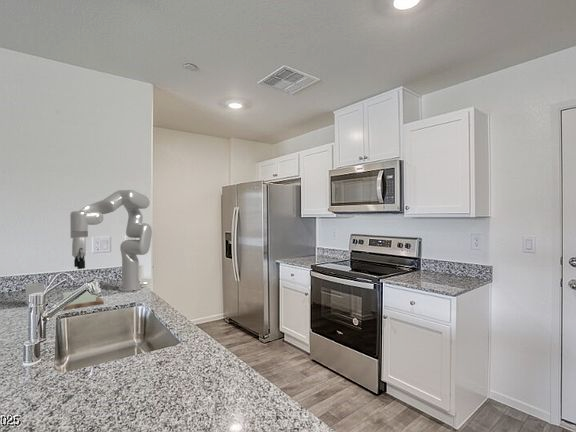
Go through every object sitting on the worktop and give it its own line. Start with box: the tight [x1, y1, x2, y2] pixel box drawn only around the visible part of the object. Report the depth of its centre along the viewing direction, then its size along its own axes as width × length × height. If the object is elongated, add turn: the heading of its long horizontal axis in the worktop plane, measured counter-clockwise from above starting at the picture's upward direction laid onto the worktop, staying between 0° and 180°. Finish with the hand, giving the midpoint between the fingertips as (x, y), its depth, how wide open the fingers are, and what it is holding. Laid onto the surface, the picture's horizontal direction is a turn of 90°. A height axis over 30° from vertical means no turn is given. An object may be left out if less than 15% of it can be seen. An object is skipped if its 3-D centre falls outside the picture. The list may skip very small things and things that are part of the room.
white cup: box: [24, 282, 45, 306], centre depth 169 cm, size 8×8×10 cm
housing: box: [61, 290, 97, 305], centre depth 164 cm, size 14×6×6 cm, turn 131°
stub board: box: [53, 296, 104, 311], centre depth 164 cm, size 20×12×5 cm, turn 131°
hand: (79, 267), depth 165 cm, fingers open, 9 cm apart
